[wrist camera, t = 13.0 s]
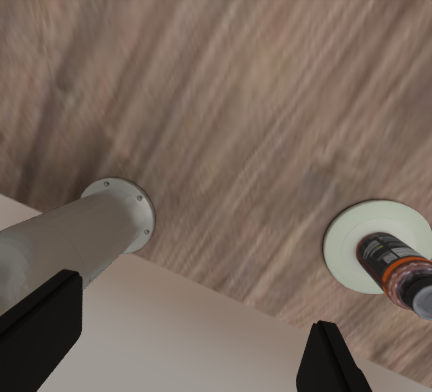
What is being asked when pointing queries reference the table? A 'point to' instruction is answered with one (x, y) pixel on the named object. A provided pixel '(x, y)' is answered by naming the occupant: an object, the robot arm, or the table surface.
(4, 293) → the robot arm
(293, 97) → the table surface
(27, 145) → the table surface
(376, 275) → the supplement bottle
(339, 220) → the dish
